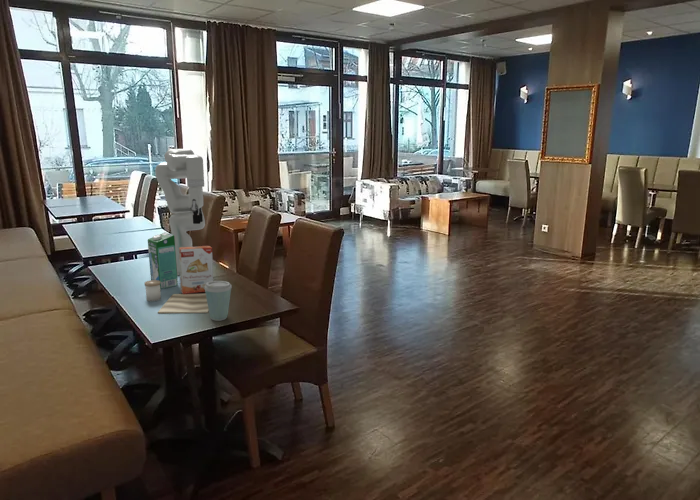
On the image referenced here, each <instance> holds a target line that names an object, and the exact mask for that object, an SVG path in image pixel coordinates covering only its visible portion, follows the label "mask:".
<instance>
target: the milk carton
mask: <svg viewBox="0 0 700 500" xmlns="http://www.w3.org/2000/svg"><path fill="white" fill-rule="evenodd" d="M147 249H148V259H149V260H148V261H149V272H150V275H149V276H150V280H159V281H160V282H161V284H160V290H163V289H168V288H171V287H175V286H178V283H179V282H178V275H177V266H176V252H175V238H174V235H172V233H169V232H162V233H160V234H157V235H153V236H152V237H150V238H148V239H147Z"/></svg>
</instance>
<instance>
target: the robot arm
mask: <svg viewBox="0 0 700 500" xmlns="http://www.w3.org/2000/svg"><path fill="white" fill-rule="evenodd" d="M203 158H204V157H202V156H200V155H198V154H195V152H194V151H193V150H192V149H191V148H170V149H168V150H167V151H166V152H165V153H164V161H165V162H161V163H159V164H157V165H156V167H155V169H154V170H155V171H154V173H155V178H156V181H157V183H158V184H159V187H160V188H161V190H162V191H163V193H164V198H165V202H166V203H167V204H166V205H167V208H168V210H169V212H170V213H171V214H172V215H170V217H169V218H168V219H169V221H168V222H169V227H170V230H171V231H170V232H171V234H172V235H174V238H175V252H176V266H177V276H180V261H179V248H180V247H193V239H192V237H191V235H190V234H188V233H187V232H188V231H189V232H190V231H199V230H202V229H204V228H205V226H206V220H205V216H204V212H203V207H204V189H203V188H204V187H205V174H204V159H203ZM174 179H175V180H178V179H186V185H187V186H186V187H188V194H183V193H182V190H181V187H180V185H178V184H177V182H175V181H173V180H174Z"/></svg>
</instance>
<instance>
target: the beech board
mask: <svg viewBox="0 0 700 500" xmlns="http://www.w3.org/2000/svg"><path fill="white" fill-rule="evenodd" d="M205 313H206V314H208V313H209V309H208V303H207V298H206V293H187V294H182V293H172V295H171V296H170V297H169V298H168V299H167V301H166V302H165V303H164V304H163V305H162V306H161V308H159V310H158V311H157V314H205Z"/></svg>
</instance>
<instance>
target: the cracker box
mask: <svg viewBox="0 0 700 500" xmlns="http://www.w3.org/2000/svg"><path fill="white" fill-rule="evenodd" d="M179 261H180V275H179V278H180V279H179V282H180V283H179V284H180V292H181V294H198V293H205V289H204V286H205V284H206V283H207V282H211V281H214V270H213V268H214V265H213V264H214V263H213V247H211V246H210V245H202V246H201V245H200V246H199V245H198V246H192V247H180V248H179Z"/></svg>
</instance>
